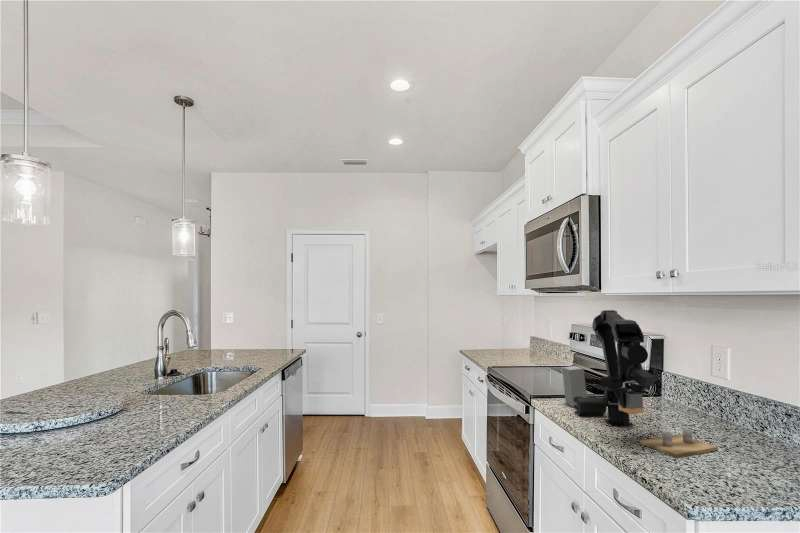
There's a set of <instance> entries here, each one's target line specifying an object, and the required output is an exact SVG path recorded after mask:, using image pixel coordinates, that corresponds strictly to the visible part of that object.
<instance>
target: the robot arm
mask: <svg viewBox="0 0 800 533" xmlns="http://www.w3.org/2000/svg"><path fill="white" fill-rule="evenodd" d="M592 331H593V332H594V334H595V337H596V339H598V341H599V342H600V343H601V347H602V348H601V349H602V352H603V358H604V363H605V368H606V373H607V376H605V375H604V376H601V377H600V378H599V386H601V387H604V392H603V395H602V398H603V404H604V405H605V406H606V407H607V419H604V422H606V423H609V424H611V425H613V426H616V427H624V426H625V427H626V426H631V425H633V422H631V421H630V414H629V413H626V412H623V411H620V410H619V406H618V401H619V402H620V404H621V406H622V408H626V392H627V390H631V391H635V392H638V393H642V397H643V395H644V393H645V391H646V390H647V389H649V388H651V387H652V386H654V385H659V372H658V370H657V369H655V368H649V369H644V368H643V366H642V364H644V363H645V362H646V361H647V360H648V357H649V353H648V351H647V349H646V348H645V347H644V346H642V345H641V343H642V344H643V343H645V340H644V339H645V336H644V333H643V331H642V329H641V327H640V325H639V324H638V323H637V321H636V320H633V319H626V318H624V317H622V316H621V315H620V314H619V313H618V311H617V310H614V309H608V310H607V309H605V310H601V311H600V313H599V314H598V315H597V316H595V317H594V318H593V321H592Z"/></svg>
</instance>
